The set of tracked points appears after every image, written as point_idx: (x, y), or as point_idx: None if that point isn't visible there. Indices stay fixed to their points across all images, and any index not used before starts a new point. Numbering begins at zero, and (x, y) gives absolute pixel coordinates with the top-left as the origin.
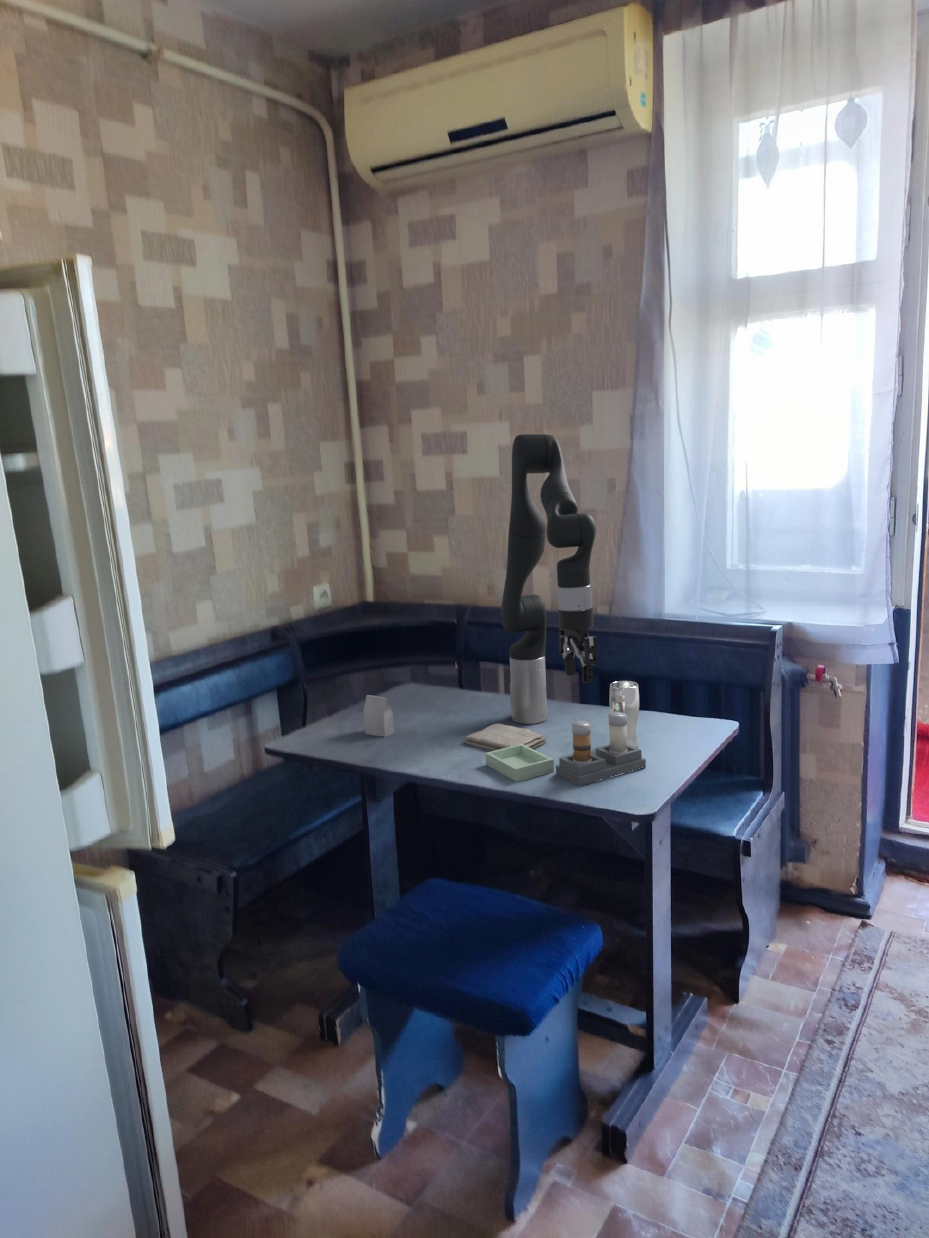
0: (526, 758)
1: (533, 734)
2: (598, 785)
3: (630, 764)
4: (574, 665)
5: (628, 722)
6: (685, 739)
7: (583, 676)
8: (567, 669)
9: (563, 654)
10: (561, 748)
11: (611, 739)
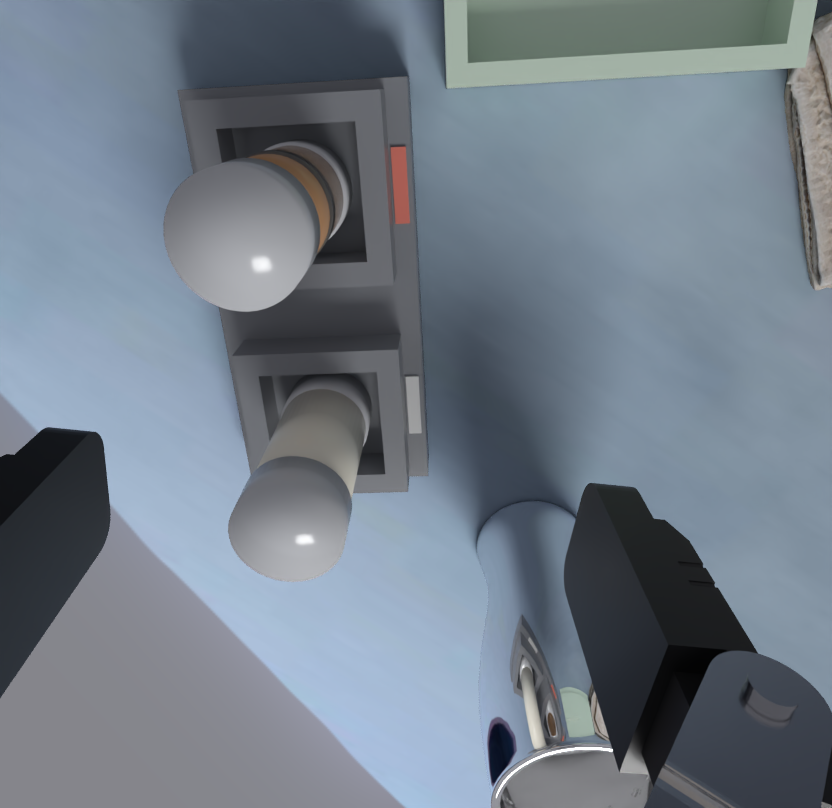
0: (675, 30)
1: None
2: (169, 178)
3: (238, 402)
4: (592, 661)
5: (488, 612)
6: (435, 711)
7: (11, 470)
8: (607, 536)
9: (800, 727)
10: (693, 310)
11: (306, 416)
